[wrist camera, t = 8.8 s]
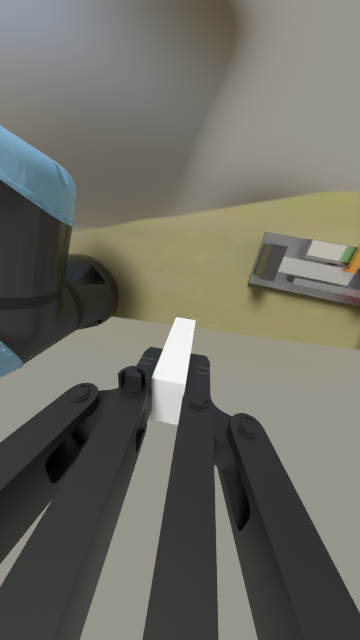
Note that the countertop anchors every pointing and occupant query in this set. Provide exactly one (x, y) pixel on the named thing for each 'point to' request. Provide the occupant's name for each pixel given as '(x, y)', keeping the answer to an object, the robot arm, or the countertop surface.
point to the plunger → (302, 266)
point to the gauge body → (316, 252)
